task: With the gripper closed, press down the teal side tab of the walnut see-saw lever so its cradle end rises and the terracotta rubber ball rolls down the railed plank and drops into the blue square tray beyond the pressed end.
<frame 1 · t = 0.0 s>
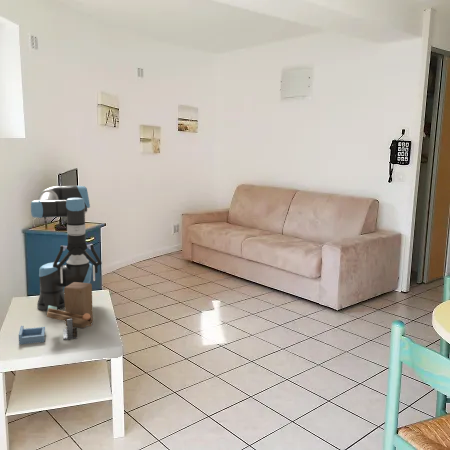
hand: (78, 281, 209), 28 cm above the table, fingers open, 13 cm apart
ball: (86, 317, 221), point 8 cm above the table, tilted 5°, touching lever
lever: (70, 313, 222), point 9 cm above the table, hinge at 19.0°, touching ball
wooden block: (79, 324, 233), on the table
fulcrum: (70, 334, 220), on the table
blue square tray: (32, 338, 215), on the table
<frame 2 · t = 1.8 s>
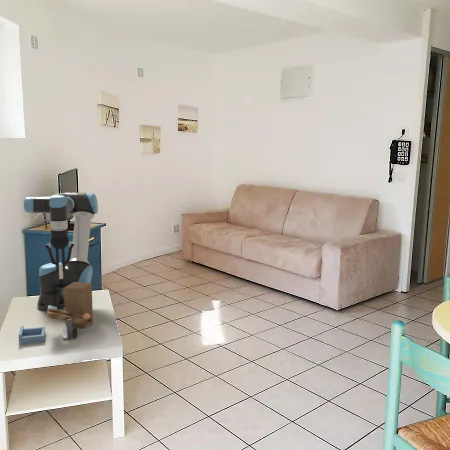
hand: (61, 278, 225), 24 cm above the table, fingers closed
nothing on the table moved.
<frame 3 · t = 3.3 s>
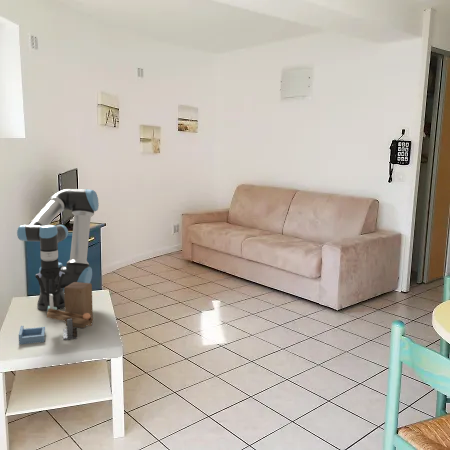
hand: (51, 308, 222), 11 cm above the table, fingers closed
lever: (70, 313, 222), point 9 cm above the table, hinge at 17.6°, touching ball, gripper
everything else where it was.
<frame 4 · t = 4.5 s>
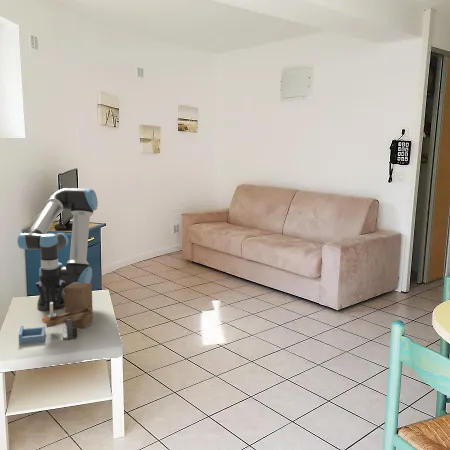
hand: (51, 316, 223), 7 cm above the table, fingers closed
ball: (46, 319, 216), point 8 cm above the table, tilted 153°, touching lever
lever: (68, 313, 222), point 9 cm above the table, hinge at -10.4°, touching ball, gripper
everything else where it was.
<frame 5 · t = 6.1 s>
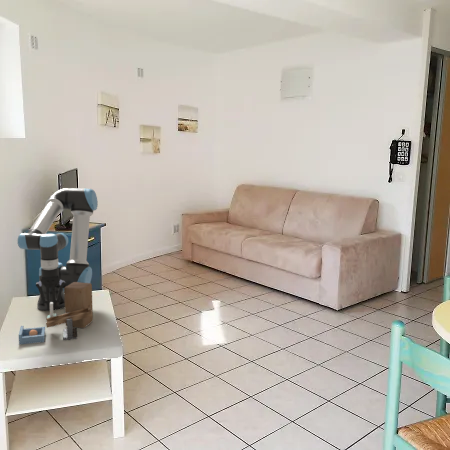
hand: (51, 316, 223), 7 cm above the table, fingers closed
ball: (33, 333, 215), point 2 cm above the table, tilted 94°, touching blue square tray
lever: (68, 313, 222), point 9 cm above the table, hinge at -10.5°, touching gripper
everything else where it was.
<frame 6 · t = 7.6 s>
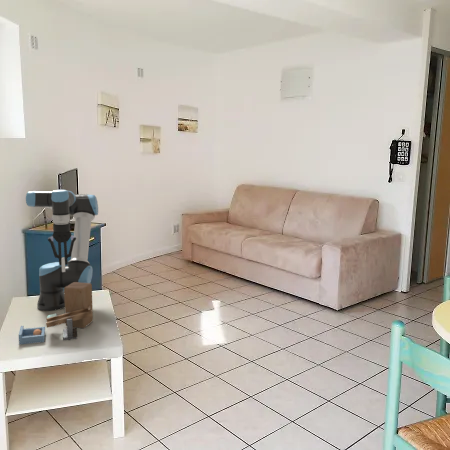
hand: (63, 271, 228), 27 cm above the table, fingers closed
ball: (37, 333, 216), point 2 cm above the table, tilted 38°, touching blue square tray
lever: (68, 313, 222), point 9 cm above the table, hinge at -10.5°
everything else where it was.
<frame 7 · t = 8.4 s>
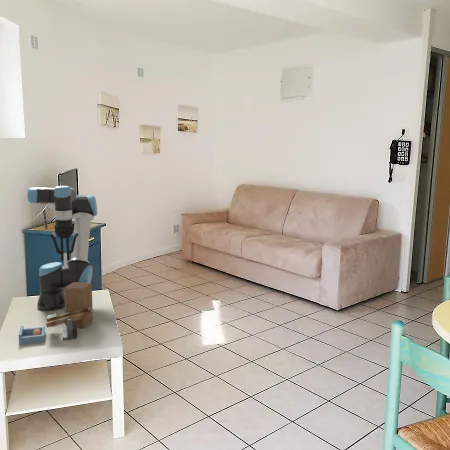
hand: (65, 267, 229), 28 cm above the table, fingers closed
nothing on the table moved.
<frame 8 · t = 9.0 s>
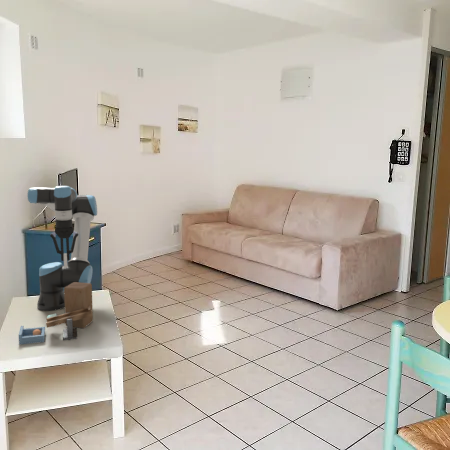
hand: (65, 267, 229), 28 cm above the table, fingers closed
nothing on the table moved.
at the end: ball inside the target area on the blue square tray (1.9 cm from its centre), point 2.3 cm above the blue square tray's base; ball touching blue square tray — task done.
